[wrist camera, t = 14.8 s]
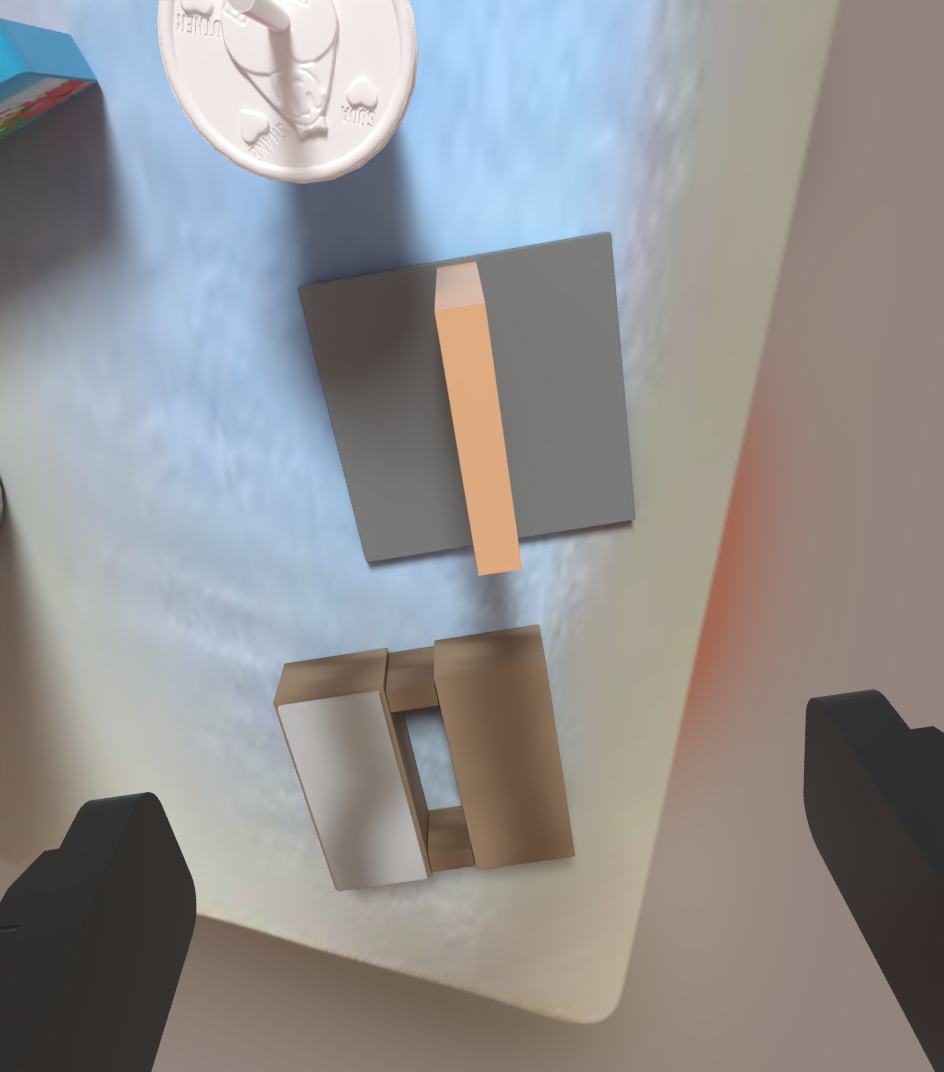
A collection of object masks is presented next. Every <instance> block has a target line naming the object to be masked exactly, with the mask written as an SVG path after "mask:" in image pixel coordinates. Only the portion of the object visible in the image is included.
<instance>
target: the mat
mask: <svg viewBox="0 0 944 1072" xmlns="http://www.w3.org/2000/svg"><path fill="white" fill-rule="evenodd" d="M471 262H476V263H477V268H478V272H479V277H480V282H481V286H482V291H483V295H484V300H485V306H486V313H487V320H488V327H489V334H490V341H491V349H492V356H493V363H494V370H495V377H496V385H497V392H498V399H499V406H500V413H501V421H502V428H503V435H504V442H505V449H506V456H507V464H508V471H509V478H510V485H511V492H512V500H513V507H514V514H515V521H516V528H517V536H518V538H522V537H528V536H535V535H541V534H547V533H553V532H560V531H566V530H572V529H578V528H585V527H591V526H597V525H604V524H610V523H616V522H622V521H629V520H635V507H634V496H633V484H632V472H631V461H630V449H629V437H628V426H627V414H626V402H625V391H624V379H623V367H622V356H621V344H620V332H619V321H618V309H617V297H616V286H615V274H614V262H613V251H612V239H611V233H610V232H603V233H598V234H592V235H586V236H581V237H575V238H569V239H564V240H558V241H552V242H547V243H541V244H535V245H529V246H524V247H518V248H512V249H507V250H501V251H495V252H490V253H484V254H478V255H473V256H467V257H461V258H455V259H450V260H444V261H438V262H433V263H427V264H421V265H416V266H410V267H404V268H399V269H393V270H387V271H382V272H376V273H370V274H364V275H359V276H353V277H347V278H342V279H336V280H330V281H325V282H319V283H313V284H308V285H302V286H300V287H299V288H298V291H299V295H300V299H301V303H302V307H303V311H304V315H305V319H306V323H307V327H308V331H309V335H310V339H311V343H312V347H313V351H314V355H315V359H316V363H317V367H318V371H319V375H320V379H321V383H322V387H323V391H324V395H325V399H326V403H327V407H328V411H329V415H330V419H331V423H332V427H333V431H334V435H335V439H336V443H337V447H338V451H339V455H340V459H341V463H342V467H343V471H344V475H345V479H346V483H347V487H348V491H349V495H350V499H351V503H352V507H353V511H354V515H355V519H356V523H357V527H358V531H359V535H360V539H361V543H362V547H363V551H364V555H365V559H366V562H372V561H378V560H384V559H390V558H397V557H403V556H409V555H415V554H422V553H428V552H434V551H441V550H447V549H453V548H459V547H466V546H472V545H473V539H472V533H471V527H470V521H469V515H468V509H467V503H466V497H465V491H464V485H463V479H462V473H461V467H460V461H459V455H458V449H457V443H456V437H455V431H454V425H453V419H452V413H451V407H450V401H449V395H448V389H447V383H446V377H445V371H444V365H443V359H442V353H441V347H440V341H439V335H438V329H437V323H436V317H435V293H436V276H437V268H439V267H446V266H452V265H458V264H464V263H471Z"/></svg>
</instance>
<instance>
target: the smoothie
mask: <svg viewBox="0 0 944 1072" xmlns="http://www.w3.org/2000/svg"><path fill="white" fill-rule="evenodd" d="M158 35H159V44H160V51H161V56H162V60H163V64H164V68H165V71H166V75H167V78H168V81H169V83H170V86H171V88H172V90H173V93H174V95H175V97H176V99H177V101H178V103H179V105H180V107H181V108H182V110H183V112H184V113H185V115H186V116H187V118H188V119H189V121H190V122H191V123H192V125H193V126H194V127H195V129H196V130H197V131H198V132H199V134H200V135H201V136H202V137H203V138H204V139H205V140H206V141H207V142H208V143H209V144H210V145H211V146H212V147H213V148H214V149H215V150H216V151H218V152H219V153H220V154H221V155H223V156H224V157H225V158H227V159H228V160H230V161H231V162H233V163H234V164H236V165H238V166H240V167H241V168H243V169H245V170H247V171H249V172H252V173H254V174H257V175H259V176H262V177H265V178H269V179H273V180H278V181H283V182H293V183H300V184H306V183H314V182H321V181H328V180H334V179H336V178H338V177H341V176H343V175H345V174H347V173H350V172H352V171H354V170H356V169H358V168H361V167H362V166H363V165H364V164H366V163H367V162H368V161H369V160H370V159H371V158H373V157H374V156H375V155H376V154H377V153H378V152H380V151H381V150H382V149H383V148H384V147H385V146H386V145H387V143H388V142H389V140H390V139H391V137H392V136H393V134H394V133H395V131H396V130H397V128H398V127H399V125H400V124H401V122H402V121H403V119H404V116H405V113H406V111H407V108H408V105H409V102H410V99H411V96H412V93H413V91H414V88H415V80H416V70H417V60H418V42H417V35H416V27H415V19H414V12H413V9H412V6H411V4H410V1H409V0H159V7H158Z"/></svg>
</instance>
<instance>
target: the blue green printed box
mask: <svg viewBox="0 0 944 1072" xmlns="http://www.w3.org/2000/svg"><path fill="white" fill-rule="evenodd" d="M96 82H97V79H96V77H95V75H94V74H93V72H92V70H91V69H90V67H89V65H88V64H87V62H86V60H85V58H84V57H83V55H82V53H81V52H80V50H79V48H78V47H77V45H76V43H75V42H74V40H73V38H72V37H71V35H69V34H65V33H61V32H57V31H52V30H48V29H43V28H39V27H35V26H30V25H26V24H22V23H17V22H13V21H9V20H4V19H0V139H2V138H3V137H5V136H7V135H8V134H10V133H12V132H14V131H15V130H17V129H19V128H20V127H22V126H24V125H26V124H27V123H29V122H31V121H32V120H34V119H36V118H37V117H39V116H41V115H43V114H44V113H46V112H48V111H49V110H51V109H53V108H55V107H56V106H58V105H60V104H61V103H63V102H65V101H67V100H68V99H70V98H72V97H73V96H75V95H77V94H79V93H80V92H82V91H84V90H85V89H87V88H89V87H91V86H92V85H94V84H95V83H96Z"/></svg>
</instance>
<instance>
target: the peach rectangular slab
mask: <svg viewBox="0 0 944 1072" xmlns="http://www.w3.org/2000/svg"><path fill="white" fill-rule="evenodd" d="M435 317H436V323H437V329H438V335H439V341H440V347H441V353H442V359H443V365H444V371H445V377H446V383H447V389H448V395H449V401H450V407H451V413H452V419H453V425H454V431H455V437H456V443H457V449H458V455H459V461H460V467H461V473H462V479H463V485H464V491H465V497H466V503H467V509H468V515H469V521H470V527H471V533H472V539H473V545H474V551H475V557H476V563H477V569H478V575H479V576H480V575H487V574H494V573H501V572H508V571H515V570H522V564H521V557H520V550H519V543H518V536H517V528H516V521H515V514H514V507H513V500H512V492H511V485H510V478H509V471H508V464H507V456H506V449H505V442H504V435H503V428H502V421H501V413H500V406H499V399H498V392H497V385H496V377H495V370H494V363H493V356H492V349H491V341H490V334H489V327H488V320H487V313H486V306H485V300H484V295H483V291H482V286H481V282H480V277H479V272H478V268H477V263H476V262H471V263H464V264H458V265H452V266H446V267H439V268H437V276H436V293H435Z"/></svg>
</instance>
